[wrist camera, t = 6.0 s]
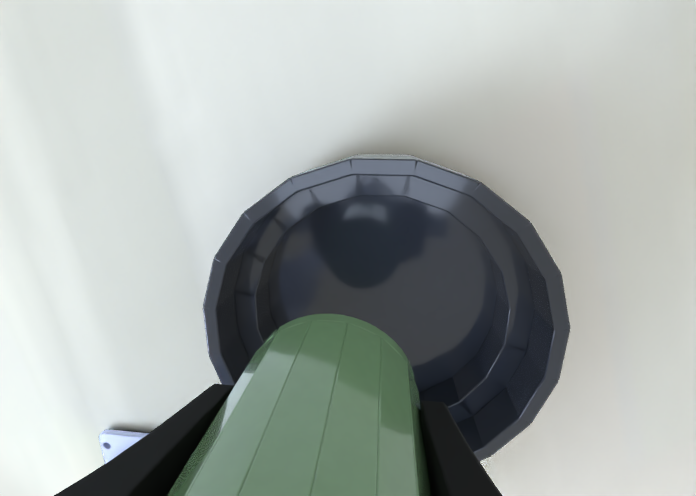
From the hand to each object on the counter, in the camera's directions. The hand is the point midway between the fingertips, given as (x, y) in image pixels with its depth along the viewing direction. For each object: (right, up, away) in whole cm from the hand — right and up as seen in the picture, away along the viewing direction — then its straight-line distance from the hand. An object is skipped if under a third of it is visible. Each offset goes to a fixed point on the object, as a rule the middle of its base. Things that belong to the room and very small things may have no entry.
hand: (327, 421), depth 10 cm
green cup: (0, 0, +1) cm, 1 cm away
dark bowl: (+2, +2, +9) cm, 9 cm away
